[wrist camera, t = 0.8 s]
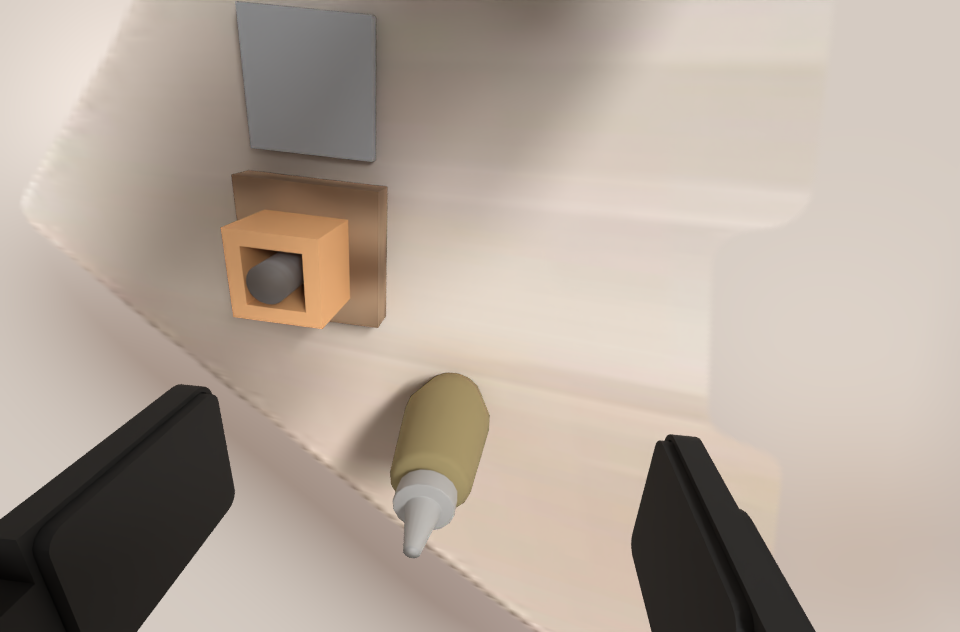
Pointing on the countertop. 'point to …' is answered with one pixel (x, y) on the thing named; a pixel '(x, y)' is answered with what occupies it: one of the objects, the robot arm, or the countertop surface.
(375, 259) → the stand
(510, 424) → the countertop surface
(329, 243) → the collar
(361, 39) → the pad
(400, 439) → the squeeze bottle
